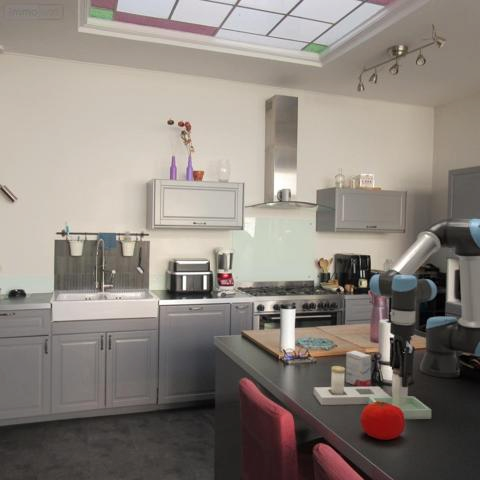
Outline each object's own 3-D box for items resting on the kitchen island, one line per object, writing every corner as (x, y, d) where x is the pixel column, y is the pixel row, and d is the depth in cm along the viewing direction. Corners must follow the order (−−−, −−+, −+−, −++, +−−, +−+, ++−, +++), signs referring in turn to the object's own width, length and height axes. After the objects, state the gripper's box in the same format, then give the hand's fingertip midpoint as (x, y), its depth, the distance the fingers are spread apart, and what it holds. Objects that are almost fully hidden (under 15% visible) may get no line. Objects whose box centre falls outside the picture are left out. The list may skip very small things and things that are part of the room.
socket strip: (378, 393, 179) (379, 363, 179) (389, 403, 169) (391, 371, 169) (313, 394, 176) (314, 363, 176) (321, 404, 166) (322, 372, 166)
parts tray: (413, 404, 169) (413, 396, 169) (431, 418, 157) (431, 409, 157) (368, 405, 167) (368, 397, 167) (382, 419, 155) (383, 410, 155)
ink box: (371, 386, 186) (372, 355, 186) (361, 388, 184) (363, 357, 183) (354, 379, 194) (355, 350, 193) (344, 381, 191) (345, 351, 190)
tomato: (410, 444, 138) (412, 408, 138) (366, 445, 137) (367, 408, 137) (395, 427, 150) (396, 394, 149) (354, 428, 149) (355, 394, 148)
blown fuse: (402, 400, 165) (403, 367, 164) (408, 405, 160) (410, 372, 160) (389, 400, 164) (390, 368, 164) (395, 406, 160) (396, 372, 159)
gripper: (380, 317, 169) (377, 384, 170) (403, 328, 152) (400, 403, 153) (401, 317, 170) (398, 384, 171) (426, 328, 153) (423, 403, 154)
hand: (399, 393), depth 162 cm, fingers closed on blown fuse, 4 cm apart
